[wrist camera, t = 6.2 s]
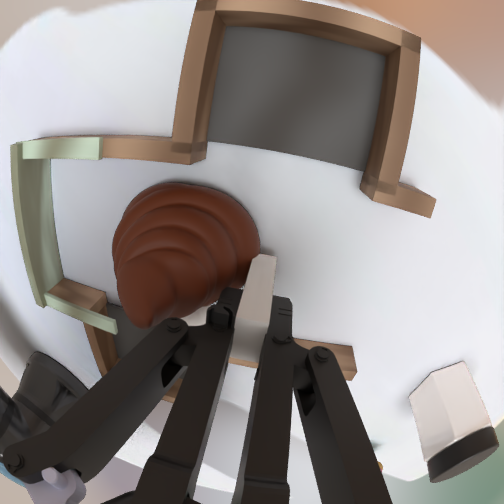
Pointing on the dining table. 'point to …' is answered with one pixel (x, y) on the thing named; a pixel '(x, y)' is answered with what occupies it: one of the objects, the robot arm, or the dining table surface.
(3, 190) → the dining table surface
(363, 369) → the dining table surface
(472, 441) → the jar
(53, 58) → the dining table surface
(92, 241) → the dining table surface
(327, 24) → the box
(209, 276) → the poop emoji
